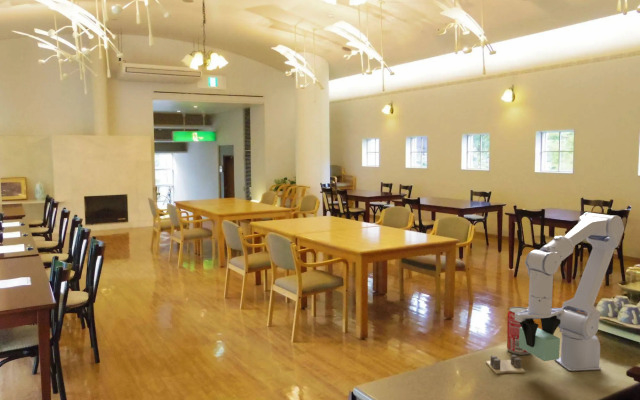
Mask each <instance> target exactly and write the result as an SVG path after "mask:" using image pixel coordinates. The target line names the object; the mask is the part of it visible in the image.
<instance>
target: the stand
mask: <svg viewBox="0 0 640 400" xmlns="http://www.w3.org/2000/svg"><path fill="white" fill-rule="evenodd" d="M518 356H519V355H517V354H511V355H510V359H499V358H498V356H496V355H491V356H490V360H485V364H486V365H487V366H488V367H489V368H490V369H491V370H492V371H493V372H494V373H495V374H497V375H498V374H513V373H514V374H515V373H518V374H519V373H525V369H524V368H522V358H520V357H518Z"/></svg>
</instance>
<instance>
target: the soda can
mask: <svg viewBox="0 0 640 400" xmlns="http://www.w3.org/2000/svg"><path fill="white" fill-rule="evenodd" d="M524 310H527V307H524V306H511V307H509V311H508V312H507V318H506V322H507V323H506V324H507V325H506V329H507V330H506V349H507V350H508V351H509V352H510V353H511V354H513V355H517V356H527V355H529V354H530V353H529V352H527V351H525V350H523V349H522V348H520V347H519V331H520V327H521V325H520V323H519V322H518V321H516V320H514V318H515V313H518V312H521V311H524Z"/></svg>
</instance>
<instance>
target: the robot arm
mask: <svg viewBox="0 0 640 400" xmlns="http://www.w3.org/2000/svg"><path fill="white" fill-rule="evenodd" d="M624 231H625V226H624V222H623V220H622V218H621V216H619V215H611V214H603V213H597V212H596V213H593V212H590V211H587V212H584V213H583V214H582V215H579V217H578V221H577V224H576V225H574V226H573V228H572V229H570V230H569V231H568V232H567V233H566V234H565V235H555V236H554V237H553V239H552V240H550V241H549V242H547V243H546V244H545V245H543V246H542V247H541V248H540V249H533V250H531V251H530V252H529V253H528V254H527V255H526V258H525V259H526V260H525V261H524V264H525V267H526V269H527V275H528V277H529V284H528V286H529V287H528V306H527V307H526V308H527V310H524V311H521V312H518V313H515V318H514V320H516V321H518V322H519V323H520V325H521V327H522V329H523V331H524V334H525V338H526V343H527V345H528V346H530V347H534V344H535V335H536V331H537V328H539V326H540V325H539V324H538V323H536V322H535V321H534V320H540V322H541V329H542V330H544V331H546V332H548V333H550V334H552V335H555V334H554V333H555V332H556V330H557V328H558V329H559V332H560V333H561V342H560V357H559V359H556V360H555V361H556V362H557V363H558V364H560V366H562V367H564V368H565V369H566V370H568V371H569V372H571V371H572V372H577V371H594V370H595V371H596V370H601V369H602V368H601V366H600V358H601V343H600V340H599V337H597V335H596V334H597V333H598V330H599V323H600V317H601V313H599V311H598V309H597V308H596V306H594V305H595V303H596V300H597V297H598V295H599V292H600V289H601V287H602V284H603V281H604V278H605V276H606V273H607V270H608V268H609V265H610V262H611V259H612V257H613V254H614V252H615V249H616V248H618V247H619V244H620V241H621V239H622V236H623V233H624ZM585 240H586V241H587V243H589V244H590V245H591V247H592V249H591V251H590V254H589V257H588V260H587V262H586V265H585V267H584V271H583V273H582V276H581V278H580V280H579V283H578V285H577V289H576V290H575V291H576V292H575V293H574V297H572V298H570V299H569V300H565V301H563V304H562V305H561V307H553V290H554V289H553V287H554V286H553V284H554V274H556V273H557V272H558V270H559V268H560V265H561V264H562V261H565V259H566V258H567V257H569V256H570V255H572V254H573V252H574V249H575V248H574V247H575V246H576V245H578V244H579V243H581V242H582V241H585Z"/></svg>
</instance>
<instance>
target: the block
mask: <svg viewBox="0 0 640 400" xmlns="http://www.w3.org/2000/svg"><path fill="white" fill-rule="evenodd" d="M519 347H520V348H522V349H523V350H525V351H527V352H529V354H530V355H533V356H534V357H537V359H539V360H542V361H544V362H549V361H556V359H559V358H560V351H561V338H560V337H558V336H556V335H555V334H553V335H552V334H550V333H548V332H546V331H544V330H542V328H539V327H538V328H537V331H536V335H535V344H534V347H530V346H528V345H527V343H526V338H525V334H524V331H523V329H522V327H520V331H519Z"/></svg>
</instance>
